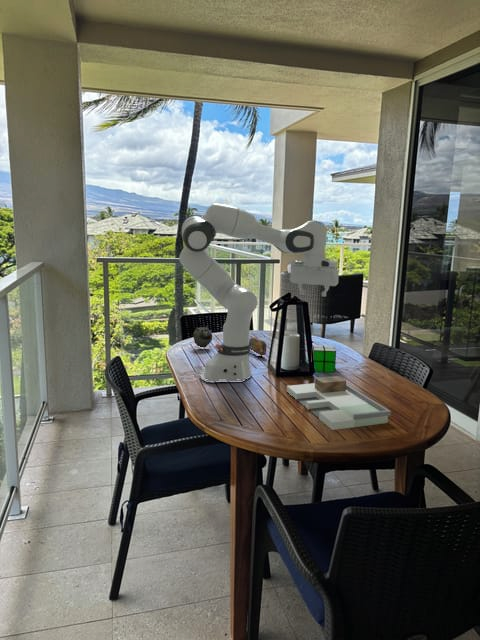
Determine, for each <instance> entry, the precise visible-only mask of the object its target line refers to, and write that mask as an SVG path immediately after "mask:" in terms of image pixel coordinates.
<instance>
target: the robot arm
mask: <svg viewBox="0 0 480 640" xmlns="http://www.w3.org/2000/svg"><path fill="white" fill-rule="evenodd" d="M217 234H222V235H225V236H229V237H232V238H236V239H242V240H243V239H244V240H249V239H254V240H259V241H262V242H264V243H268V244H271V245H273V246H274V247H275V249H277V250H278V251H279V252H282V253H284V254H294V255H295V254H300V253H303V261H302V260H299V261H298V260H294V261H292V262H291V263H290V275H289V281H290V283H291V284H297V288H298V290H299V295H300V296H301V295H302V296H304V295H306V294H305V292H306V290H304V289H303V285H313V286H314V285H315V286H323V288H324V290H323V291H321V297H325V298H326V297H327V292H328V291H329V290H330V287H336V286H337V285H338V284H339V269H338V267H337V266H338V263H337V261H336V260H333V259H330V258H328V257H326V256H327V253H326V245H327V227H326V225H325V224H324V223H323V222H321V221H317V220H307V221H306V222H305V223H304V224H302V225H300V226H298V227H295V228H292V229H291V228H283V229H276V228H274V227H271V226H268V225H264V224H262V223H260V222H259V221H257V219H256V217H255V215H254V214H252V213H251V212H250V211H249V212H248V211H246V210H244V209H241V208H238V207H237V206H232V205H229V204H228V205H227V204H221V203H213V204H211V205H209V206H208V208H207V210H206V212H205V214H204V216H202V215H200V214H190V215H188V216H187V217H186V218H185V219H184V220H183V221H182V224H181V238H182V241H183V244H184V247H183V248H182V250H181V252H180V253H179V256H178V257H179V263H180V264H181V266H182V267H183V268H184V269H185V271H187V273H188V274H189V275H190V276H191V277H192V278H193V279H194V280H195V281H196V282H198V283H199V284H200V285H201V286H202V287H203V288H204V289H206V291H207V292H208V293H209V294H210V295H211V296H212V297H213V298H214V300H216V301H217V302H218V303H219V304H220V305H221V306H222V308H224V309H226V310H227V313H226V314H227V315H226V319H225V322H224V324H223V326H222V344H220V343H216V344H215V347H214V348H216V349H217V351H218V352H217V353H216V354H215V355H213V356H212V357H211V358H209V359H208V360H206V363H205V366H204V371H200V372H199V375H200V376H201V378H203V379H204V380H205V379H208V380H206V381H219V379H226V381H228V380H229V381H243V380H245V379H246V378H248V377H250V376H251V375H252V376H253V374H252V370H251V365H250V357H251V352H250V344H249V341H250V326H251V320H252V317H253V313H254V312H255V311H256V308H257V306H258V298H257V296H256V295H255V293H254V292H253V291H251V290H250V289H249V288H246V287H244V286H241V285H239V284H237V283H236V282H235V281H234V280H233V278H232V277H231V276H230V275H229V273H228V271H227V270H226V269H225V268H224V267H223V266H222V265H220V263H219V262H218V261H217V260H215V258H213V257H212V256H211V254H209V253H208V252H207V251H206V249H207V248H208V247H209V246H210V244H211V243H212V241H213V240H214V239H215V237H216V235H217ZM200 373H204V374H200ZM237 379H241V380H237Z"/></svg>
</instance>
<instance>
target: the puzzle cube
mask: <svg viewBox="0 0 480 640" xmlns="http://www.w3.org/2000/svg"><path fill="white" fill-rule="evenodd" d="M312 349H313V360H314V367H315V371H316V372H315V373H336V361H337V360H336V358H337V356H336V355H337V351H336V348H335V346H334V345H324V344H323V345H322V344H321V345H319V344H318V345H317V344H313V345H312V347H311V350H312Z"/></svg>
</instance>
